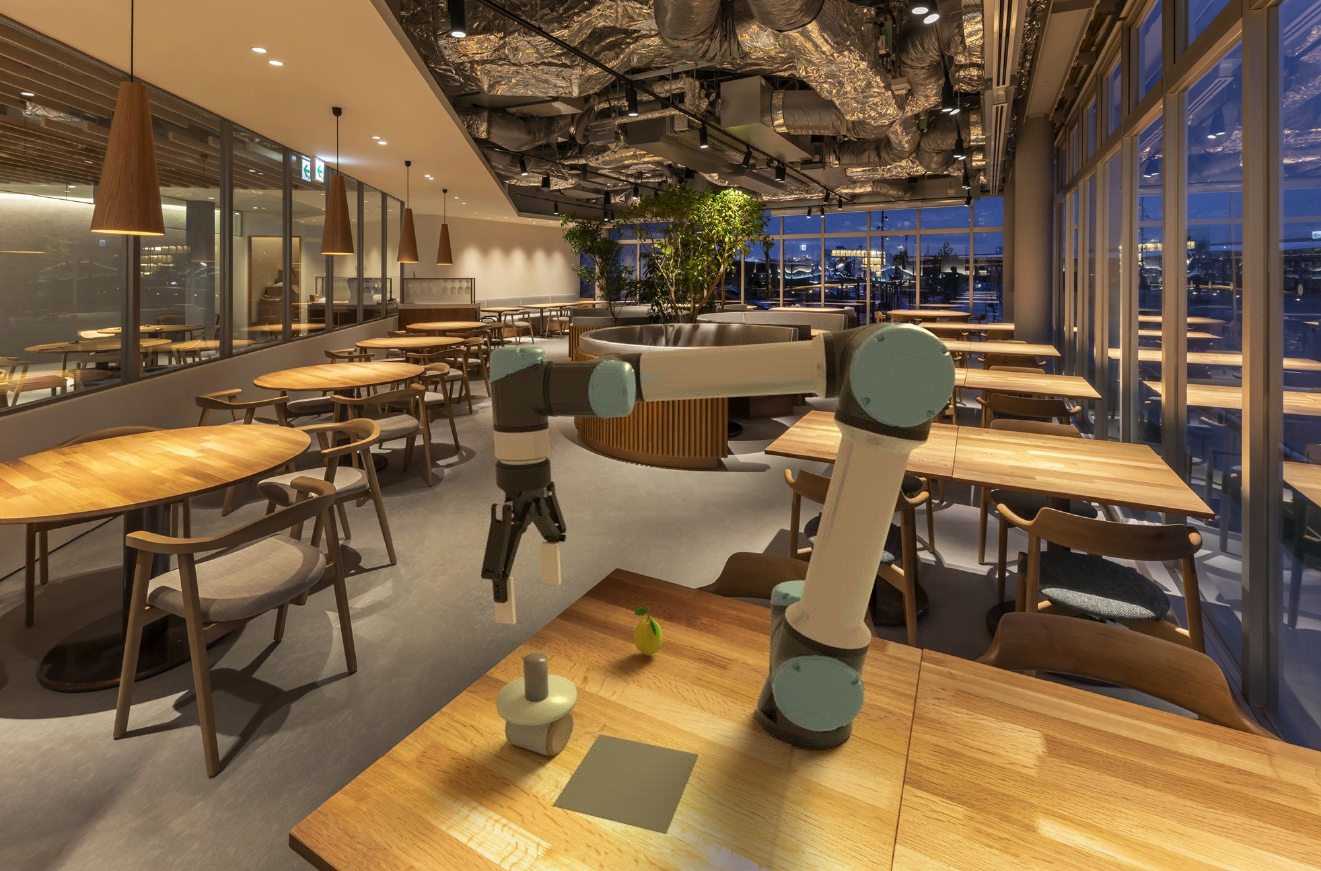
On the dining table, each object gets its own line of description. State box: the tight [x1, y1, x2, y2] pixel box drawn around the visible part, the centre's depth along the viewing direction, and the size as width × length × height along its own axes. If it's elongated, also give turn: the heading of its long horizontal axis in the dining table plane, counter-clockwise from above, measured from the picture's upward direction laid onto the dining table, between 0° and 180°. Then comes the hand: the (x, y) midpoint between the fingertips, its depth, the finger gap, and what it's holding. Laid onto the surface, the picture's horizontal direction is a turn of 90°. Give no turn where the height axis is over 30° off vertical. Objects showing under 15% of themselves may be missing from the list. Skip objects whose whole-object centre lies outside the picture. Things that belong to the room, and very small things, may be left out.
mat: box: [552, 733, 700, 834], centre depth 95 cm, size 16×16×1 cm
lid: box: [495, 652, 578, 726], centre depth 100 cm, size 12×12×7 cm
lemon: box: [633, 606, 664, 657], centre depth 128 cm, size 7×6×10 cm
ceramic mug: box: [504, 710, 576, 757], centre depth 103 cm, size 11×8×8 cm
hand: (530, 601), depth 97 cm, fingers open, 13 cm apart
